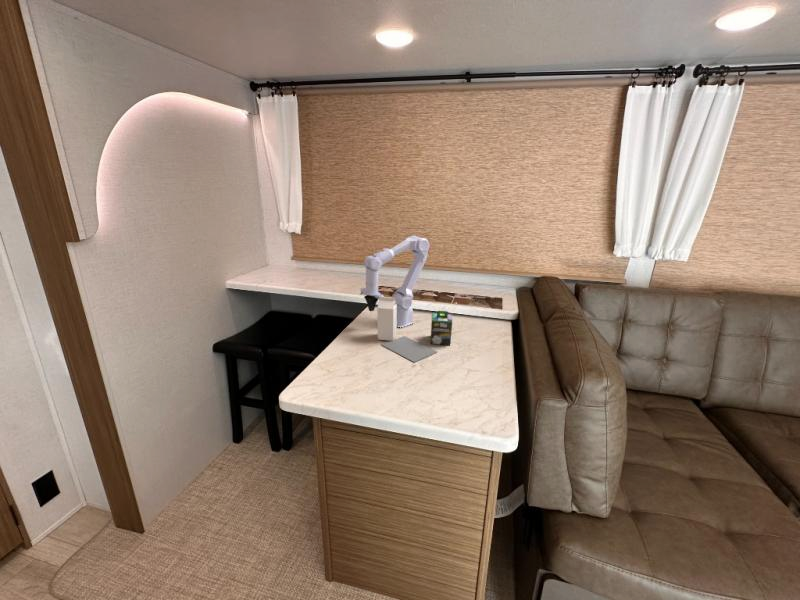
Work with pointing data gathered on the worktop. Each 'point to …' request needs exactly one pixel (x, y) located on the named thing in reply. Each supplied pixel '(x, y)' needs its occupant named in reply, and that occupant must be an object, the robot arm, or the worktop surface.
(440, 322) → the chalk box
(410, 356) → the mat
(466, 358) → the worktop surface
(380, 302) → the cream plain cuboid
